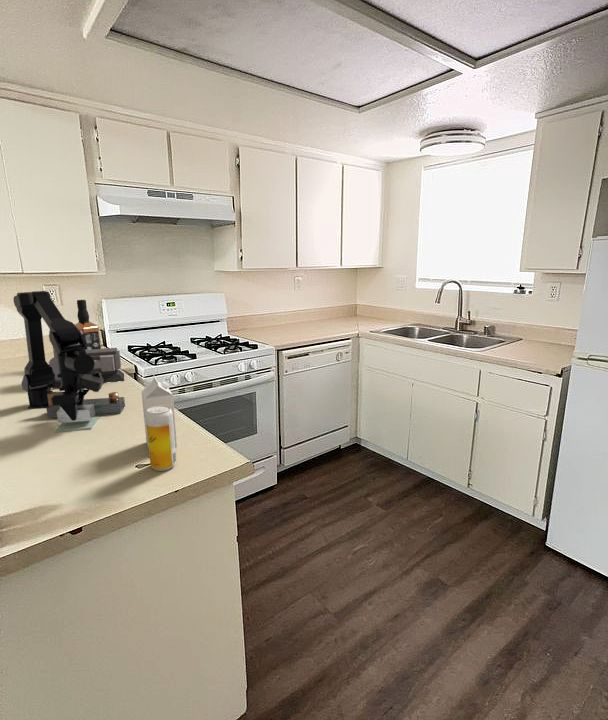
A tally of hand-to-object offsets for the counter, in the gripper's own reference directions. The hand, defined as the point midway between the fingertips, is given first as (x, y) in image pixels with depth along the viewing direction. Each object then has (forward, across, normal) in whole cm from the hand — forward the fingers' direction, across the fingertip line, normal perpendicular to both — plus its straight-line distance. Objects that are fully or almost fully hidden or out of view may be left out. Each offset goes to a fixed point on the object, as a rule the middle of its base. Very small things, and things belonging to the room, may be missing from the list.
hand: (76, 417), depth 127 cm
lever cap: (0, 0, 0) cm, 1 cm away
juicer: (+3, +51, +11) cm, 52 cm away
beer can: (+3, -33, -29) cm, 44 cm away
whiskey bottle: (+3, +74, +16) cm, 76 cm away
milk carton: (+3, -20, -27) cm, 34 cm away
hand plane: (+2, +11, 0) cm, 11 cm away
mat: (+2, 0, 0) cm, 3 cm away
